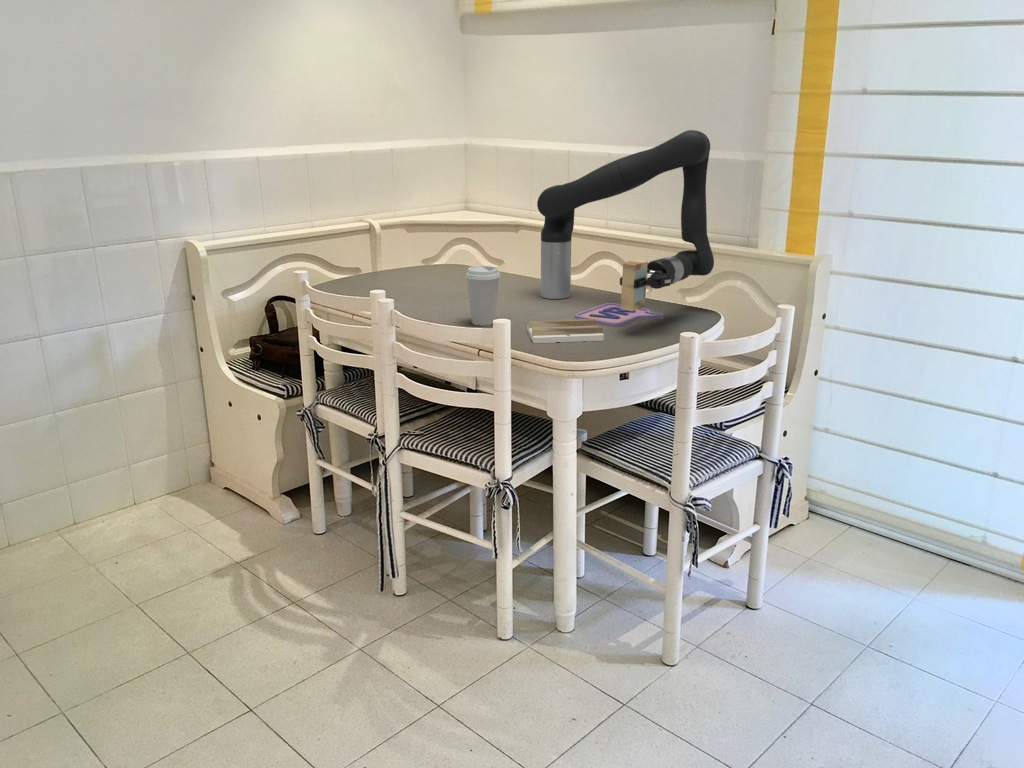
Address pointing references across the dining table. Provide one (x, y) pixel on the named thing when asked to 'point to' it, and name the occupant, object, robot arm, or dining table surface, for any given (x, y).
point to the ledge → (565, 331)
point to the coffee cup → (483, 293)
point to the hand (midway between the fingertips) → (628, 283)
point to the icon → (616, 315)
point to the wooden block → (631, 295)
